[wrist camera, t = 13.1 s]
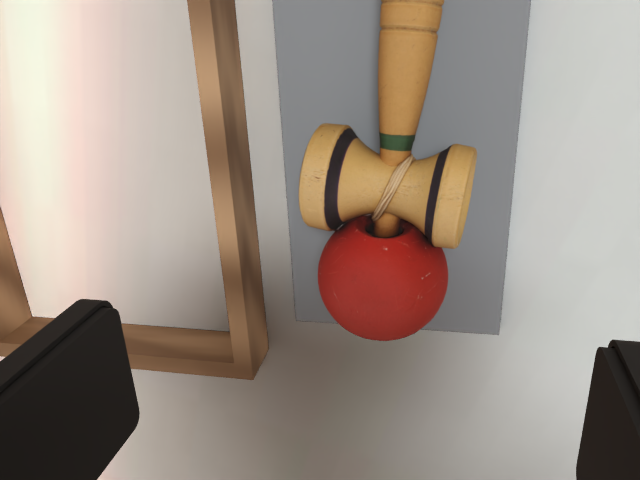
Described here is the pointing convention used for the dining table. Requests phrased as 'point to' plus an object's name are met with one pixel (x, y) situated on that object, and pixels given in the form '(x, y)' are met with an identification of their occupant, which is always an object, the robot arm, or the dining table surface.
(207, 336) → the wooden frame
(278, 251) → the dining table surface
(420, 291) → the kendama
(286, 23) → the mat
